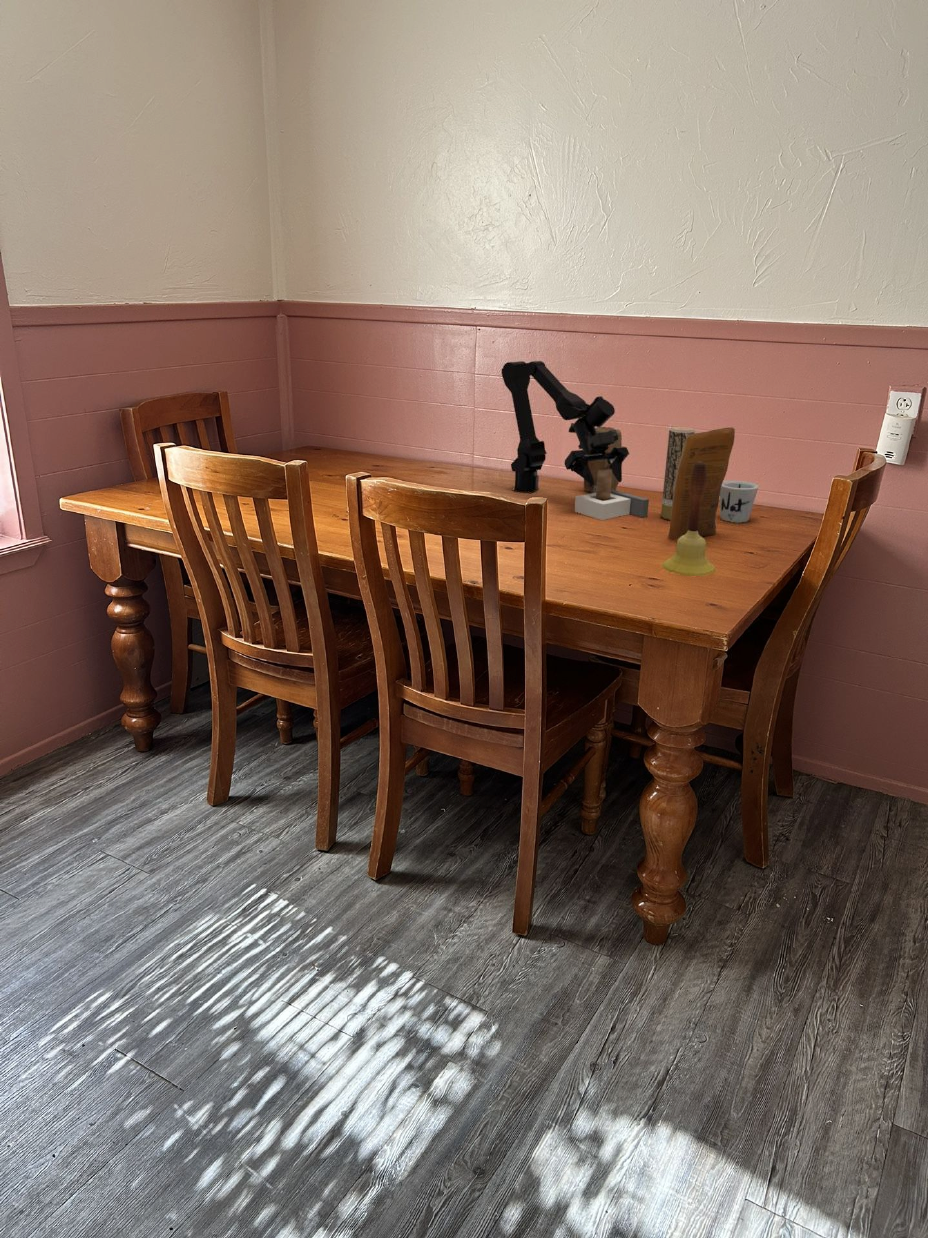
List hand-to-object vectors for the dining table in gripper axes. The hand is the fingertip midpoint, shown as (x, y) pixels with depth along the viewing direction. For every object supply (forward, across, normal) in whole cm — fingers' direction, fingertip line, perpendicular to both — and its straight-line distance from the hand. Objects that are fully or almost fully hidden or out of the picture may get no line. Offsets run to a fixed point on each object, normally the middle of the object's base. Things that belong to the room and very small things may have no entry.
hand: (607, 482), depth 247 cm
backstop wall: (+4, +7, +8) cm, 12 cm away
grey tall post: (+14, +16, -1) cm, 21 cm away
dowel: (+5, 0, +7) cm, 9 cm away
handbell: (+41, -9, -28) cm, 50 cm away
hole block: (+5, 0, +7) cm, 9 cm away
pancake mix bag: (+26, +10, -13) cm, 31 cm away
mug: (+19, +33, -6) cm, 38 cm away
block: (-9, +13, +22) cm, 28 cm away
